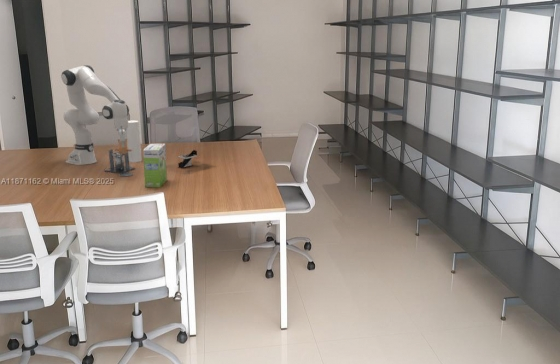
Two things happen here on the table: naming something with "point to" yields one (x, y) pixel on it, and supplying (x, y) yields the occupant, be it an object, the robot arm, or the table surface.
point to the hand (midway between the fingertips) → (123, 146)
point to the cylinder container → (133, 141)
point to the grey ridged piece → (118, 163)
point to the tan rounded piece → (123, 148)
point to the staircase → (187, 159)
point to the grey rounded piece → (125, 174)
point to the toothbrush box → (155, 165)
